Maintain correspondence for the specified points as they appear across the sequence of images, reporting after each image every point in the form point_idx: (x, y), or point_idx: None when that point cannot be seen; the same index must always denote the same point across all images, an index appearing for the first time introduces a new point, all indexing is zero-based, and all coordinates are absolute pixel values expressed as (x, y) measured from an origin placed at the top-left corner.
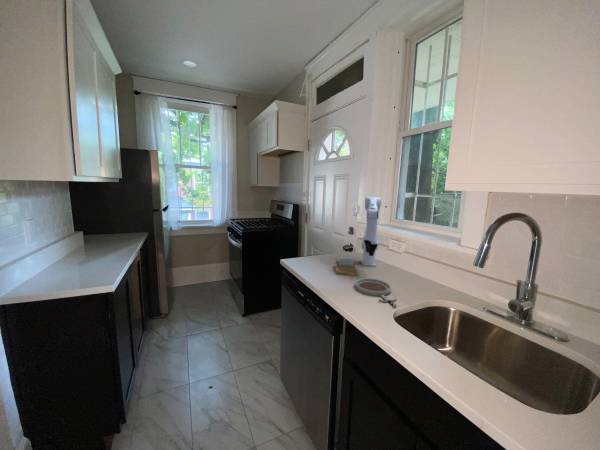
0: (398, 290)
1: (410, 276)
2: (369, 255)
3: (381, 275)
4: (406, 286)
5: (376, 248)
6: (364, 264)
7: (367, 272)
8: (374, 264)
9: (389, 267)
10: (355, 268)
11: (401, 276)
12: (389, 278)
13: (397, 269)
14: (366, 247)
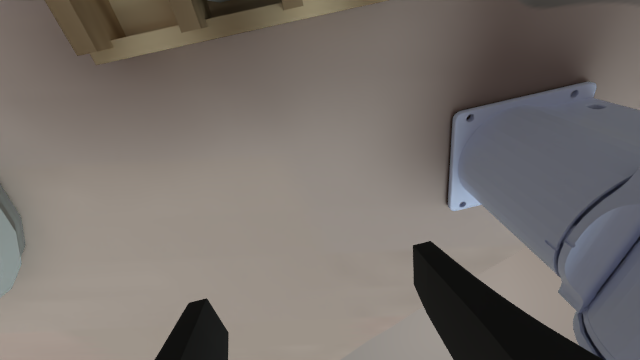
0: (6, 328)
1: (294, 353)
2: (188, 305)
3: (239, 245)
4: (114, 349)
5: (582, 338)
6: (463, 123)
7: (264, 153)
8: (469, 199)
9: None
10: (83, 44)
11: (275, 327)
12: (201, 284)
13: (397, 307)
14: (470, 318)
